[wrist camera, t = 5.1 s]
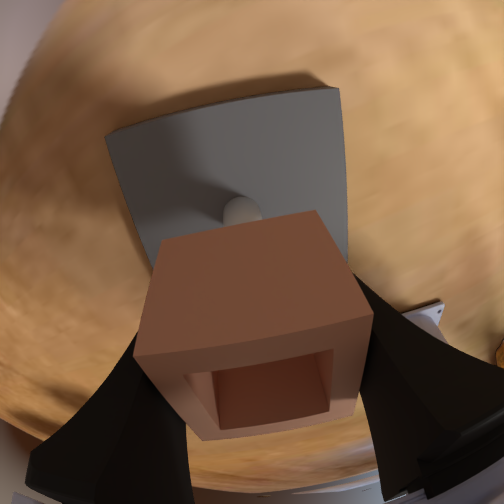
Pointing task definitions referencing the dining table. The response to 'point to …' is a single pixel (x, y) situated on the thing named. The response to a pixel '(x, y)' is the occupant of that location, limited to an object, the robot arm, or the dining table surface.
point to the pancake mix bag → (500, 356)
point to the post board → (235, 165)
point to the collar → (255, 328)
